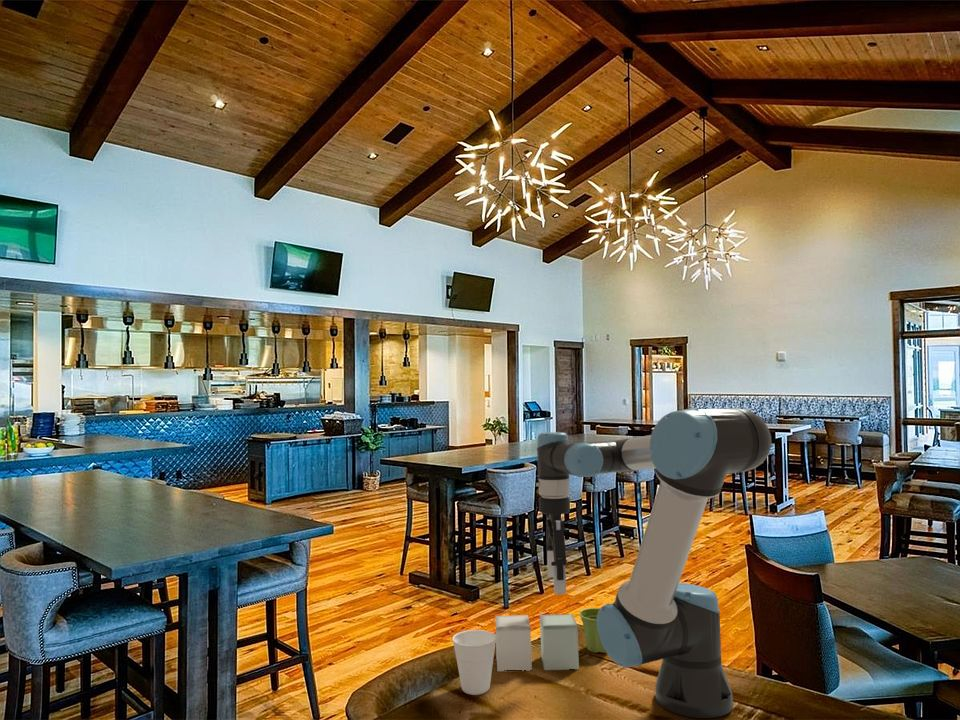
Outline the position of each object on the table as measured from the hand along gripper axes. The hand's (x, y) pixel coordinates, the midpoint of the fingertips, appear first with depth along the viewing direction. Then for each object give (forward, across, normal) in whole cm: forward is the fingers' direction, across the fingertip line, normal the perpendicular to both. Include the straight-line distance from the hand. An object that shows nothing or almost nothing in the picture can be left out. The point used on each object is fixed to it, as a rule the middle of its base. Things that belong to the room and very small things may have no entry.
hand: (556, 585), depth 152 cm
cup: (+18, +13, -20) cm, 30 cm away
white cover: (+18, 0, -11) cm, 21 cm away
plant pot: (+18, -8, +11) cm, 23 cm away
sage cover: (+18, 0, 0) cm, 18 cm away
